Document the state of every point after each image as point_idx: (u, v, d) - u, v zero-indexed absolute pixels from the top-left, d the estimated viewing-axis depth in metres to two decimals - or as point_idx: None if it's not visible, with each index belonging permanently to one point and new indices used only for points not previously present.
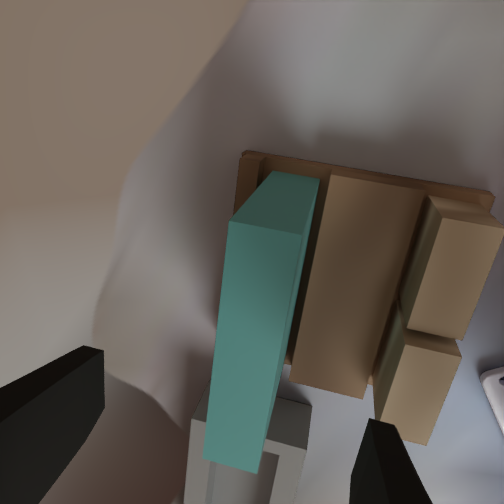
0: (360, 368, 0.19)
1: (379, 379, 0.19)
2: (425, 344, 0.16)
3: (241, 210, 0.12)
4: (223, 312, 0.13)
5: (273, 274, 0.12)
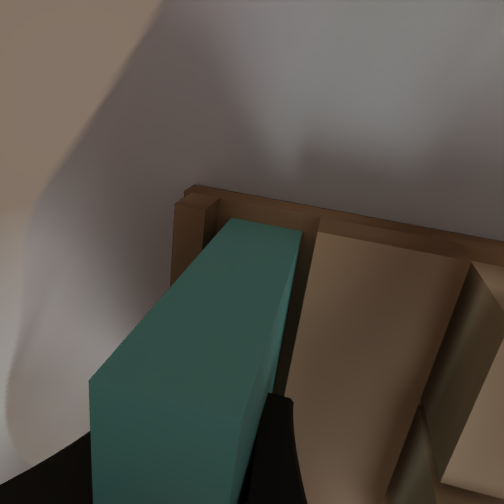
0: (364, 503, 0.13)
1: None
2: None
3: (133, 337, 0.06)
4: None
5: (189, 483, 0.06)
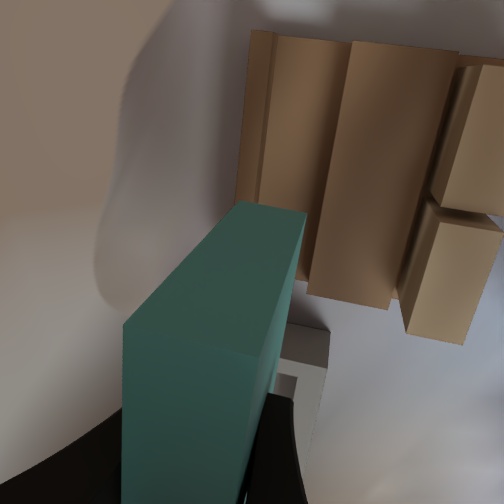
0: (385, 273, 0.17)
1: (406, 283, 0.17)
2: (462, 223, 0.14)
3: (158, 293, 0.07)
4: (129, 469, 0.07)
5: (210, 418, 0.06)
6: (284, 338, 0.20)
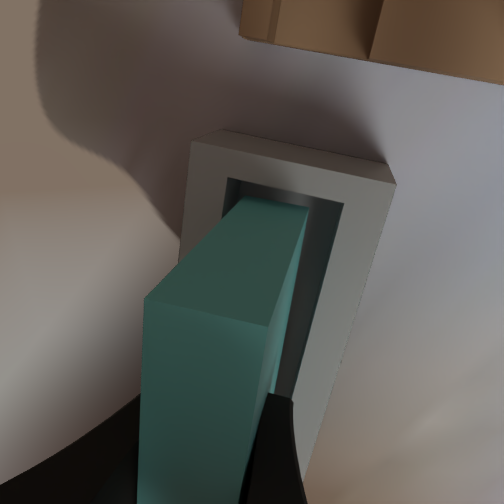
0: None
1: None
2: None
3: (174, 273, 0.08)
4: (146, 437, 0.08)
5: (222, 386, 0.07)
6: (321, 158, 0.13)
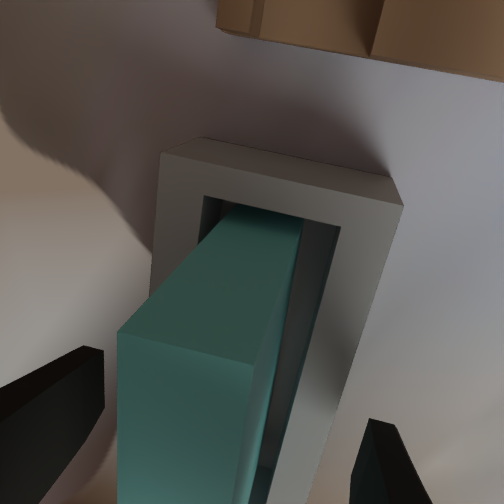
0: None
1: None
2: None
3: (154, 298, 0.07)
4: (125, 476, 0.07)
5: (205, 425, 0.06)
6: (314, 171, 0.11)
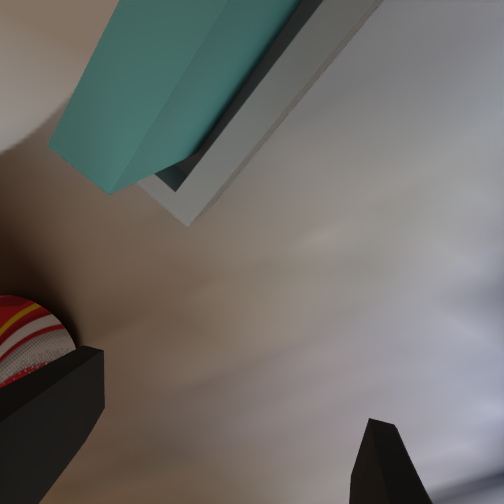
0: None
1: None
2: None
3: None
4: None
5: None
6: None
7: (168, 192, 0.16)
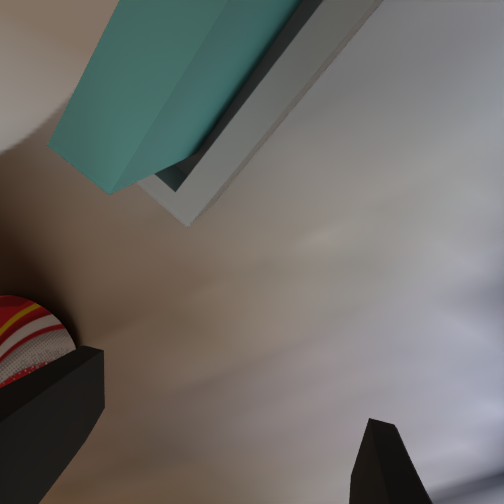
0: None
1: None
2: None
3: None
4: None
5: None
6: None
7: (168, 192, 0.16)
